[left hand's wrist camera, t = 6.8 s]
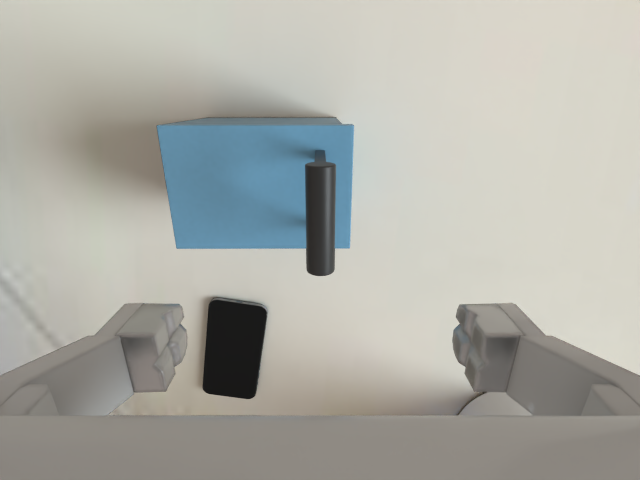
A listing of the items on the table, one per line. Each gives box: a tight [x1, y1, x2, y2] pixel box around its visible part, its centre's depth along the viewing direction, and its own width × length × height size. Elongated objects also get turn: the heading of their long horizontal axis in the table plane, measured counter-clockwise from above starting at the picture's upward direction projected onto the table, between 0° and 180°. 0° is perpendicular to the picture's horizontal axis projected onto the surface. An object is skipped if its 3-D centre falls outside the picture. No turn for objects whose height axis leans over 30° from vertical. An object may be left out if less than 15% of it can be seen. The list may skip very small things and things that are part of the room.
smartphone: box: [203, 298, 268, 399], centre depth 46 cm, size 7×1×15 cm
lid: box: [157, 124, 354, 276], centre depth 23 cm, size 14×9×9 cm
